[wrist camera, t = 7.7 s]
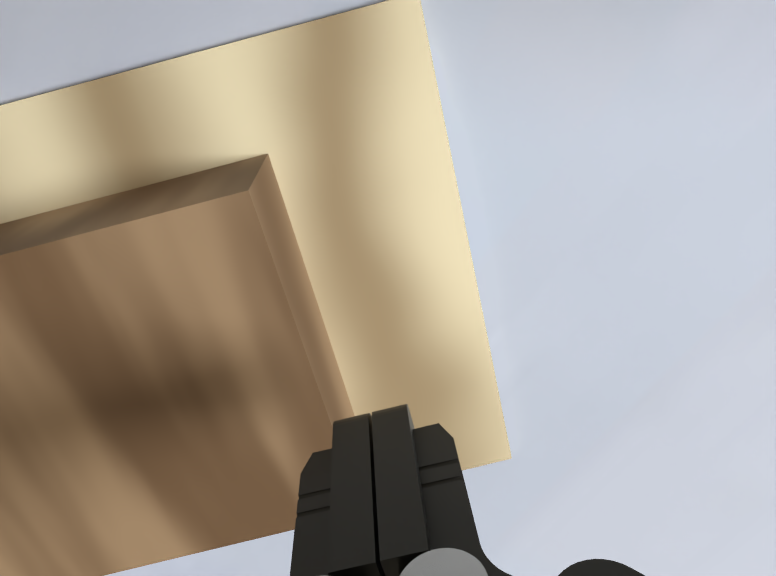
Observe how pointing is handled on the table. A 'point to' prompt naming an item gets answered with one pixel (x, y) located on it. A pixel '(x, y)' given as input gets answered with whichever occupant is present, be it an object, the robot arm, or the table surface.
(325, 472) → the robot arm
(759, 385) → the table surface
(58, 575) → the slab
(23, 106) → the board
